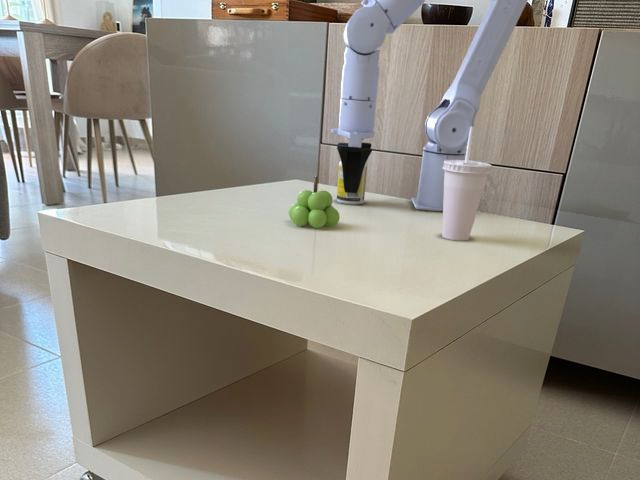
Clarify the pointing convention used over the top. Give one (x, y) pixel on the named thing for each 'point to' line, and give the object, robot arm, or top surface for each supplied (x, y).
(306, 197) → the grapes
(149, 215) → the top surface
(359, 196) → the supplement bottle
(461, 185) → the smoothie
